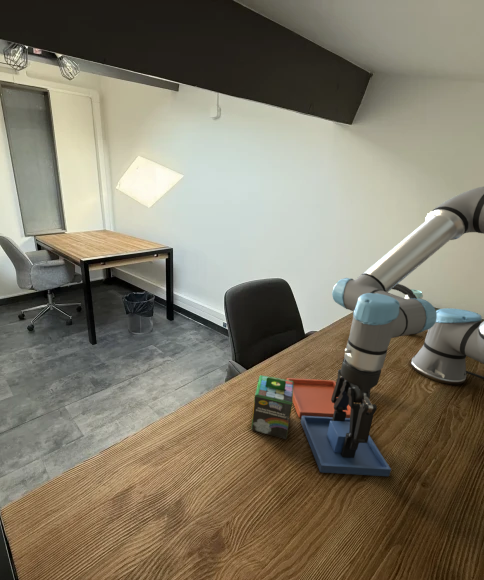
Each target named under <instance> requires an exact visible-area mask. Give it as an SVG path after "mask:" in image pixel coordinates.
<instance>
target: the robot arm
mask: <svg viewBox="0 0 484 580" xmlns="http://www.w3.org/2000/svg"><path fill="white" fill-rule="evenodd" d="M467 233H478V234H483V235H484V186H479V187H476V188H472V189H469V190H466V191H463V192H461V193H459V194H456V195H454V196H452V197H451V198H448V199H446V200H445V201H444V202H442V203H440V204H439V205H438V206H436V207H435V208H433V209H432V210H431V211H430V212H428V213H427V215H426V216H425V218H424V222H422V223H421V224H420V225H419V226H418V227H417V228H416V229H414V230H413V231H412V232H411V233H409V234H408V235H407V236H406V237H404V238H403V239H402V240H401V241H400V242H398V243H397V244H396V245H395V246H394V247H392V248H391V249H390V250H389V251H388V252H386V253H385V254H384V255H383V256H382V257H380V258H379V259H378V260H377V261H376V262H374V263H373V264H372V265H371V266H369V268H367V269H366V270H365V271H363V272H362V273H361V274H360V275H358V276H357V278H355V279H353V278H349V277H344V278H341V279H339V280H338V281H337V282H336V283H335V285H334V286H333V289H332V291H331V295H332V299H333V302H335V303H336V304H338V305H339V306H341V307H343V308H344V309H345V310H349V311H351V312H353V313H352V315H353V316H352V321H351V325H350V331H349V335H348V338H347V342H346V343H347V344H346V346H345V349H344V358H343V359H342V363H341V367H340V369H337V378H336V380H335V382H336V385H335V388H334V391H333V395H332V398H331V401H332V403H334V414H333V419H332V421H345V418H346V412H345V411H343V410H347V409H348V408H347V406H348V404H349V406H350V407H351V411H350V428H349V433H346V437H345V441H344V445H343V448H342V452H341V456H342V457H347V458H354V456H355V452H356V450H357V448H358V445H359V443H367V442H368V437H369V435H370V432H371V428H372V424H373V419H374V415H375V413H376V412H377V410H378V406H377V404H375V403H372V402H371V400H370V398H371V389H373V388H375V387H376V386H377V385H378V384H379V380H380V377H381V373H382V369H383V368H384V363H385V360H386V357H387V353H388V348H389V345H390V342H391V340H392V339H395V338H398V337H404V336H411V335H416V334H420V333H422V332H425V331H426V332H427V333H426V335H425V338H424V342H423V345H422V346H421V347H420V349H419V351H418V352H417V353H416V354H414V355H413V357H411V361H410V366H411V368H412V369H413V370H414V371H415V372H417V373H418V374H420V375H422V376H423V377H425V378H427V379H429V380H431V381H434V382H438V383H441V384H447V385H462V384H464V383H465V382H466V379H467V374H468V375H470V376H473V377H476V378H479V379H482V380H484V376H483V375H481V374H478V373H474V372H471V371H468V370H467V365H466V364H467V363H466V358H467V357H468V358H470V359H471V360H474V361H477V362H479V363H481V364H483V365H484V320H483V317H482V315H481V314H479V313H478V312H475V311H471V310H467V309H461V308H450V307H448V308H447V307H445V308H439V309H435V306H434V305H433V304H432V303H430V302H429V300H427V299H423V298H422V299H415V298H410V299H404V298H405V297H402V296H399V295H396V294H394V293H390V291H392V290H393V289H392V288H393V287H395V286H396V285H397V284H400V283H401V282H402V281H403V280H404V279H406V277H408V276H409V275H410V274H411V273H413V272H414V271H415V270H416V269H418V267H420V266H421V265H422V264H423V263H424V262H426V261H427V260H428V259H429V258H430V257H432V256H433V255H434V254H436V252H438V251H439V250H440V249H441V248H442V247H444V246H445V245H446V244H447V243H448V242H450V241H454V240H457V239H460V238H461V237H462V236H464V234H467ZM482 320H483V321H482ZM336 397H338V398H336Z"/></svg>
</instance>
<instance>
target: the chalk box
mask: <svg viewBox="0 0 484 580" xmlns="http://www.w3.org/2000/svg"><path fill="white" fill-rule="evenodd" d="M293 385H294V382H293V381H289V380H286V379H283V378H279V377H275V376H269V375H268V376H267V375H261V374H260V375H259V376H258V379H257V386H256V388H255V392H254V400H253V410H252V419H251V431H255V432H258V433H262V434H265V435H269V436H272V437H275V438H280V439H283V440H287V438H288V432H289V425H290V420H291V413H292V408H293Z"/></svg>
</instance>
